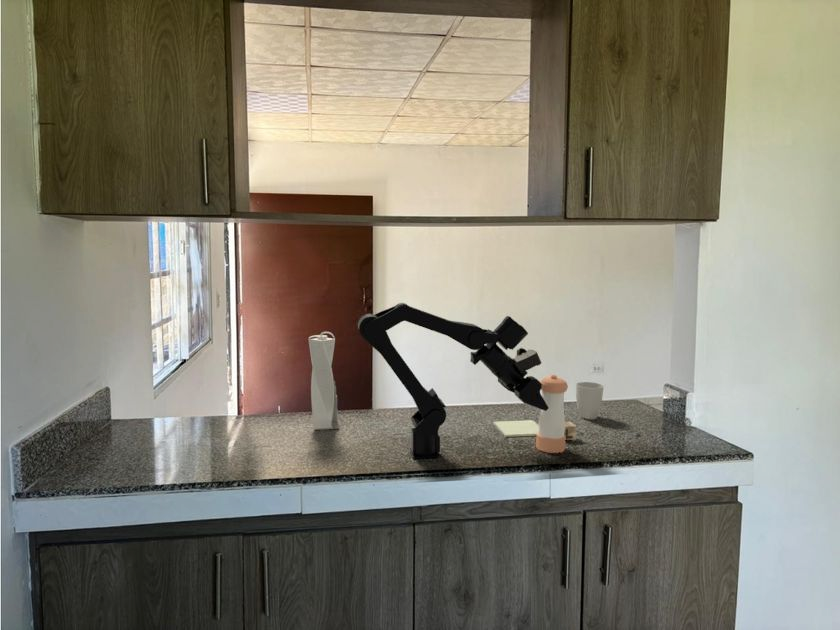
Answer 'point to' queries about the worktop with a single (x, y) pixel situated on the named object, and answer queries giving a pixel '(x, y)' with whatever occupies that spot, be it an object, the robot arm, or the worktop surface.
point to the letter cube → (570, 431)
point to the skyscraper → (323, 383)
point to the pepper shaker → (552, 416)
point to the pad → (517, 428)
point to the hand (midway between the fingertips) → (540, 404)
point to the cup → (589, 399)
